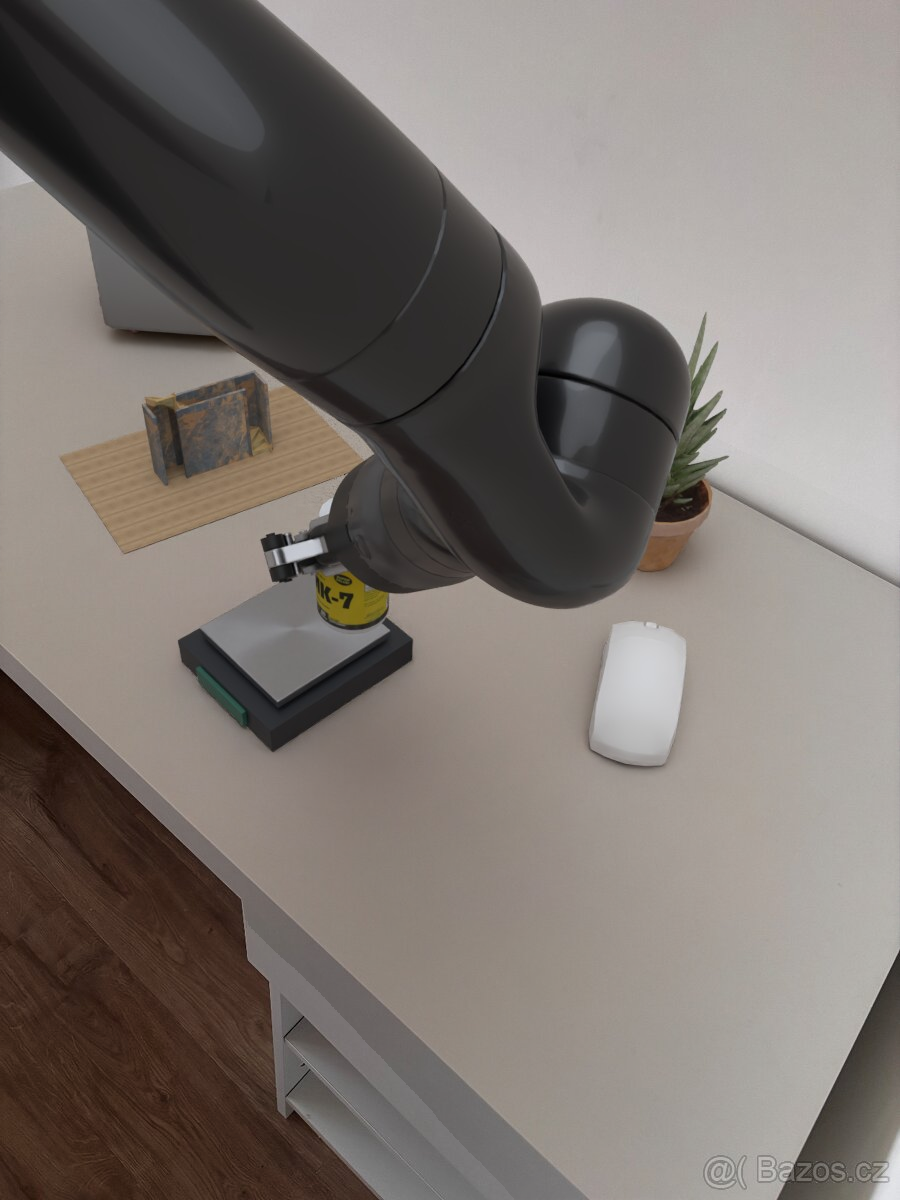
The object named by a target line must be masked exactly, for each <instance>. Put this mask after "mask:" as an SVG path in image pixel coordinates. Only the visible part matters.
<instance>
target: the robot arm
mask: <svg viewBox="0 0 900 1200" xmlns="http://www.w3.org/2000/svg"><path fill="white" fill-rule="evenodd" d="M0 152H1V153H2V154H3V155H4V156H6V157H7V158H8V159H9V160H10V161H11V162H13V164H15V165H16V166H17V167H18V168H19V169H20V170H22V171H23V173H24V174H26V175H27V176H28V177H29V178H31V179H32V181H34V182H35V183H36V184H38V186H40V188H42V189H43V190H44V191H45V192H47V193H48V195H49V196H51V197H52V198H53V199H54V200H55V201H56V202H58V204H60V205H61V206H62V207H63V208H64V209H66V210H67V211H68V212H69V213H70V214H71V215H72V216H73V217H75V219H77V220H78V221H79V222H80V223H81V224H82V225H84V226H85V228H86V227H87V228H88V229H89V230H90V231H92V232H93V233H94V234H95V235H96V236H97V237H98V238H99V239H101V240H102V241H103V242H104V243H105V244H106V245H107V246H109V247H110V248H111V249H112V250H113V251H114V252H115V253H117V254H118V255H119V256H120V257H121V258H122V259H123V260H125V261H126V262H127V263H128V264H129V265H130V266H132V267H133V268H134V269H135V270H136V271H137V272H138V273H140V274H141V275H142V276H143V277H144V278H145V279H146V280H148V281H149V282H150V283H151V284H152V285H153V286H155V287H156V288H157V289H158V290H159V291H160V292H161V293H163V294H164V295H165V296H166V297H167V298H169V299H170V300H171V301H172V302H173V303H175V304H176V305H177V306H178V307H179V308H181V309H182V310H183V311H184V312H185V313H187V314H188V315H189V316H190V317H192V318H193V319H194V320H195V321H197V322H198V323H199V324H201V325H202V326H203V327H204V328H206V329H207V330H208V331H209V332H211V333H212V334H213V335H215V336H214V337H216V338H217V339H218V340H220V341H221V342H223V343H224V344H225V345H227V346H228V347H229V348H230V349H232V350H233V351H235V352H236V353H237V354H239V355H240V356H242V357H243V358H245V359H246V360H247V361H249V362H250V363H252V364H253V365H255V366H256V367H258V368H259V369H261V370H262V371H264V372H265V373H267V374H268V375H270V377H272V378H274V379H275V380H277V381H278V382H280V383H281V384H283V386H287V387H289V388H290V389H292V390H293V391H295V392H296V393H298V394H299V395H300V396H301V397H302V398H303V399H304V400H306V401H307V402H309V403H310V404H312V405H314V406H315V407H317V408H318V409H320V410H322V411H323V412H324V413H326V414H327V415H329V416H330V417H332V418H334V419H335V420H336V421H338V422H339V423H340V424H342V425H344V426H345V427H347V428H348V429H350V430H351V431H353V432H354V433H355V434H356V435H358V436H359V437H360V438H361V439H362V440H363V442H364V443H365V445H367V446H368V448H369V449H370V450H371V452H372V453H373V454H372V455H370V456H369V457H368V458H366V459H365V460H364V461H363V462H362V463H360V464H359V465H357V466H356V467H355V468H353V469H352V470H351V471H350V472H349V473H346V474H345V476H344V478H343V479H342V480H341V482H340V483H339V485H338V487H337V488H336V490H335V493H334V495H333V497H334V498H333V497H332V498H333V500H332V504H331V508H330V512H329V514H327V515H324V516H322V517H319V516H318V517H316V518H314V519H311V520H310V521H309V524H308V525H309V528H308V530H307V529H304V530H301V531H299V532H298V534H295V535H292V532H290V531H289V532H286V533H277V534H276V532H271V533H267V534H265V537H262V538H260V539H259V541H260V545H261V547H262V550H263V554H264V558H265V561H266V565H267V569H268V571H269V575H270V579H271V582H272V583H282V582H284V583H286V582H290V581H293V580H292V578H295V577H298V575H301V574H302V575H307V574H311V576H312V575H316V574H319V572H318V571H321V572H322V573H323V575H324V576H326V577H330V576H333V575H337V574H341V573H344V572H348V571H349V572H350V573H351V574H352V575H353V576H354V577H356V578H357V579H358V580H360V581H361V582H362V583H364V584H366V585H367V586H369V587H372V588H374V589H376V590H379V591H382V592H387V593H389V594H392V595H393V594H394V595H404V594H413V593H418V592H423V591H429V590H434V589H439V588H445V587H449V586H454V585H458V584H461V583H464V582H466V581H468V580H472V579H473V578H475V577H477V578H479V579H480V580H481V581H483V582H484V583H486V584H487V585H489V586H490V587H492V588H493V589H495V590H497V591H498V592H500V593H502V594H504V595H506V596H509V597H510V598H512V599H514V600H517V601H519V602H522V603H525V604H528V605H532V606H535V607H540V608H544V609H553V610H572V609H573V610H574V609H580V608H584V607H588V606H591V605H592V606H593V605H595V604H599V603H600V602H602V601H604V600H607V599H608V598H610V597H612V596H614V595H615V594H617V592H619V591H620V590H621V589H622V588H623V587H625V586H626V585H627V584H628V582H630V580H631V579H632V577H633V576H634V575H635V573H636V572H637V571H638V569H637V568H638V566H639V564H640V562H641V560H642V558H643V556H644V553H645V551H646V548H647V545H648V541H649V538H650V535H651V532H652V528H653V525H654V522H655V517H656V514H657V511H658V508H659V505H660V502H661V498H662V495H663V492H664V489H665V486H666V482H667V479H668V476H669V473H670V470H671V467H672V463H673V460H674V457H675V454H676V448H677V446H678V444H679V441H680V438H681V434H682V431H683V427H684V424H685V421H686V417H687V413H688V410H689V405H690V397H691V378H690V371H689V367H688V364H689V363H688V361H687V359H686V356H685V353H684V351H683V349H682V346H681V345H680V344H679V343H678V341H677V340H676V338H675V337H674V336H673V334H672V333H671V332H670V330H669V329H668V328H667V327H666V326H665V325H664V324H662V322H660V321H659V320H658V319H656V318H655V317H653V315H650V314H649V313H647V312H646V311H644V310H643V309H640V308H638V307H635V306H634V305H631V304H629V303H626V302H623V301H619V300H615V299H612V298H604V297H591V296H589V297H574V298H566V299H561V300H555V301H552V302H548V303H545V304H543V302H542V299H541V295H540V292H539V290H540V289H539V286H538V284H537V282H536V280H535V277H534V275H533V273H532V272H531V270H530V268H529V266H528V264H526V262H525V260H524V259H523V258H522V256H521V255H520V253H518V251H517V250H516V249H515V248H514V246H512V244H511V243H510V242H509V241H508V239H506V238H505V236H504V235H503V234H501V232H499V231H498V230H497V229H496V227H495V226H494V225H493V224H492V223H491V222H490V221H489V220H488V219H487V218H486V217H485V216H484V215H483V213H481V212H480V211H479V210H478V209H477V207H476V206H474V204H473V203H472V202H471V201H470V200H468V199H469V198H467V197H466V196H465V195H464V194H463V193H462V192H461V190H459V189H458V187H456V185H454V184H453V182H451V180H450V179H448V177H447V176H446V175H445V174H444V173H443V172H442V171H441V170H440V169H439V168H438V167H437V166H436V165H435V164H434V162H432V161H431V159H430V157H428V156H427V155H426V154H425V153H424V152H423V151H422V150H421V149H420V148H419V147H418V145H416V143H414V142H413V141H412V140H411V139H410V138H409V137H408V136H407V135H406V134H405V133H404V132H403V131H402V129H400V128H399V127H398V126H397V125H396V124H395V123H394V122H393V120H391V119H390V118H389V117H388V116H387V115H386V114H385V113H384V112H383V111H382V110H381V109H380V108H379V107H377V105H375V104H374V103H373V102H372V100H370V99H369V98H368V97H367V96H366V94H364V93H363V92H362V91H360V89H358V88H357V87H356V86H355V85H354V84H353V82H351V81H350V80H349V79H348V78H347V77H346V76H344V75H343V74H342V73H341V72H340V71H339V70H338V69H337V68H336V67H334V65H332V64H331V63H330V62H329V61H328V60H327V59H325V57H324V56H322V55H321V54H320V53H318V51H317V50H316V49H314V48H313V47H312V46H311V45H309V43H308V42H307V41H305V40H304V39H303V38H302V37H301V36H299V35H298V34H297V33H296V32H295V31H294V30H293V29H291V28H290V27H289V26H288V25H287V24H286V23H285V22H284V21H282V19H280V18H279V17H278V16H276V14H274V13H273V12H272V11H270V9H268V7H266V6H265V5H264V4H263V3H261V2H260V1H259V0H0Z"/></svg>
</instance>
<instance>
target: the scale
mask: <svg viewBox="0 0 900 1200" xmlns="http://www.w3.org/2000/svg"><path fill="white" fill-rule="evenodd" d="M382 624H383V625H384V626H386V627H387V628H388V629H389V630H390V638H388V639H386V640H385V641H383V642H382V643H380V644H379V645H377V646H375V647H374V648H372V649H371V650H369V651H368V652H366V653H364V654H363V655H361V656H360V657H358V658H356V659H355V660H353V661H352V662H350V663H349V664H347V665H345V666H344V667H342V668H341V669H339V670H338V671H336V672H334V673H333V674H331V675H330V676H328V677H327V678H325V679H323V680H322V681H320V682H319V683H317V684H316V685H314V686H312V687H311V688H309V689H308V690H306V691H304V692H303V693H301V694H300V695H298V696H297V697H295V698H293V699H292V700H290V701H289V702H287V703H286V704H284V705H282V706H281V707H279V708H278V707H276V706H275V705H274V704H273V703H272V702H271V701H270V700H269V699H268V698H267V697H266V696H265V695H264V694H263V693H262V692H261V691H260V690H259V689H258V688H257V687H256V686H255V685H253V684H252V683H251V682H250V681H249V680H248V679H247V678H246V677H245V676H244V675H243V674H242V673H241V672H240V671H239V670H238V669H237V668H236V667H235V666H234V665H233V664H232V663H230V662H229V661H228V660H227V659H226V658H225V657H224V656H223V655H222V654H221V653H220V652H219V651H218V650H217V649H216V648H215V647H214V646H213V645H212V644H211V643H210V642H209V641H207V640H206V639H205V638H204V637H203V636H202V635H201V633H200V627H199V628H197V629H195V630H193V631H192V632H190V633H188V634H186V635H185V636H183V637H181V638H179V639H178V640H177V644H178V649H179V653H180V654H179V655H180V661H181V663H183V665H184V666H186V667H187V668H188V669H189V671H191V672H192V673H193V675H195V676H196V677H197V682H198V683H199V684H200V685H201V686H202V687H203V688H204V689H205V690H206V691H207V692H208V693H209V694H210V696H212V697H213V698H214V699H215V700H216V701H217V702H218V703H219V704H220V705H221V706H222V708H224V709H225V710H226V711H227V712H228V713H229V714H230V715H231V716H232V717H233V718H234V719H235V720H236V722H238V723H239V724H240V725H241V726H242V727H243V728H245V727H247V728H248V729H249V730H250V731H251V732H252V733H253V734H254V735H256V737H257V738H258V739H259V740H260V741H261V742H262V743H263V744H264V745H265V746H266V747H267V748H268V749H269V750H270V751H271V752H275V751H276V750H278V749H279V748H281V747H282V746H284V745H285V744H287V743H288V742H290V741H292V740H293V739H295V738H296V737H298V736H299V735H300V734H302V733H304V732H305V731H307V730H309V729H310V728H311V727H313V726H314V725H316V724H317V723H318V722H321V721H322V720H323V719H325V718H326V717H328V716H330V715H331V714H332V713H334V712H335V711H337V710H339V709H340V708H342V707H343V706H345V705H346V704H348V703H349V702H351V701H352V700H354V699H355V698H357V697H358V696H360V695H361V694H363V693H364V692H366V691H367V690H369V689H370V688H372V687H373V686H375V685H377V684H378V683H380V682H381V681H382V680H384V679H386V678H387V677H389V676H390V675H392V674H393V673H395V672H396V671H397V670H399V669H401V668H403V667H404V666H405V665H407V664H408V663H410V662H412V661H413V652H414V650H413V649H414V638H413V637H411V636H410V635H409V634H407V633H406V632H405V631H404V630H403V629H402V628H400V627H399V626H398V625H397V624H395V622H393V621H392V620H390V619H389V618H388V616H387V617H386V618H385V620H384V621H383V622H382Z"/></svg>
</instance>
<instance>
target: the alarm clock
mask: <svg viewBox="0 0 900 1200" xmlns="http://www.w3.org/2000/svg"><path fill="white" fill-rule="evenodd" d="M85 230H86V235H87V241H88V244H89V245H88V246H89V249H90V255H91V259H92V260H91V261H92V265H93V270H94V275H95V279H96V280H95V281H96V286H97V291H98V302H99V305H100V307H101V311H102V315H103V322H104V324H105V326H108V327H109V328H111V329H115V330H128V331H131V332H132V333H133V334H137V333H139V332H141V331H142V332H157V333H169V334H181V335H182V334H183V335H197V336H207V337H209V336H211V337H216V336H215V335H213V334H212V333H211V332H209V331H208V330H207V329H206V328H204V327H203V326H202V325H201V324H199V323H198V322H197V321H195V320H194V319H193V318H192V317H190V316H189V315H188V314H187V313H185V312H184V311H183V310H182V309H181V308H179V307H178V306H177V305H176V304H175V303H173V302H172V301H171V300H170V299H169V298H167V297H166V296H165V295H164V294H163V293H161V292H160V291H159V290H158V289H157V288H156V287H155V286H153V285H152V284H151V283H150V282H149V281H148V280H146V279H145V278H144V277H143V276H142V275H141V274H140V273H138V272H137V271H136V270H135V269H134V268H133V267H132V266H130V265H129V264H128V263H127V262H126V261H125V260H123V259H122V258H121V257H120V256H119V255H118V254H117V253H115V252H114V251H113V250H112V249H111V248H110V247H109V246H107V245H106V244H105V243H104V242H103V241H102V240H101V239H99V238H98V237H97V236H96V235H95V234H94V233H93V232H92V231H90V230H89V229H88V228H87V227H86V226H85Z"/></svg>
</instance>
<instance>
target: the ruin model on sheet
mask: <svg viewBox="0 0 900 1200" xmlns="http://www.w3.org/2000/svg"><path fill="white" fill-rule="evenodd" d="M144 401H145V402H144V403H141V408H142V413H143V419H144V424H145V429H143V430H142V429H141V430H139V431H135V432H133V433H129V434H126V435H123V436H119V437H117V438H113V439H109V440H107V441H103V442H101V443H97V444H94V445H91V446H88V447H85V448H81V449H78V450H75V451H71V452H67V453H65V454H62V455H59V456H58V457H59V459H60V461H62V463H63V465H64V466H65V468H66V469H67V470H68V472H69V474H70V475H71V476H72V478H73V480H74V481H75V483H76V484H77V485H78V488H79V489H80V490H81V492H82V493H83V494H84V496H85V498H86V499H87V500H88V502H89V504H90V505H91V506H92V508H93V510H94V511H95V513H96V514H97V515H98V517H99V518H100V520H101V522H102V523H103V524H104V526H105V527H106V529H107V530H108V532H109V533H110V535H111V536H112V538H113V539H114V542H115V543H116V544H117V545H118V547H119V548H120V550H121V552H122V553H123V555H125V554H127V553H131V552H132V551H135V550H138V549H141V548H144V547H146V546H149V545H152V544H155V543H157V542H160V541H163V540H166V539H169V538H172V537H174V536H178V535H180V534H182V533H185V532H188V531H191V530H193V529H196V528H199V527H202V526H205V525H208V524H210V523H213V522H216V521H219V520H221V519H224V518H227V517H230V516H232V515H235V514H238V513H241V512H243V511H247V510H249V509H252V508H254V507H257V506H260V505H264V504H266V503H268V502H271V501H274V500H277V499H280V498H282V497H285V496H288V495H291V494H294V493H296V492H299V491H302V490H304V489H308V488H310V487H313V486H315V485H318V484H321V483H324V482H327V481H329V480H330V481H331V480H332V479H335V478H337V477H340V476H343V475H347V474H348V473H349V472H350V471H351V470H352V469H353V468H355V467H356V466H357V465H359V464H360V463H362V462H363V461H365V460H364V459H363V458H362V456H360V455H359V454H358V453H357V451H355V450H354V449H353V447H352V446H350V444H348V442H346V441H345V439H344V438H343V437H342V436H341V435H340V434H339V433H338V432H337V431H336V430H335V429H334V428H333V427H332V426H331V425H330V424H329V423H328V422H327V421H326V420H325V419H324V418H323V416H321V415H320V413H318V412H317V411H316V410H315V409H314V408H313V407H312V406H311V405H310V403H308V401H307V400H306V399H305V398H304V397H302V396H301V395H299V394H298V393H296V392H295V391H293V390H292V389H290V388H289V387H287V386H286V385H283V386H280V387H277V388H274V389H271V390H269V384H268V382H267V381H266V380H265V379H264V378H263V377H262V376H261V375H260V373H258V371H257V370H250V371H247V372H245V373H241V374H238V375H234V376H231V377H227V378H225V379H221V380H217V381H215V382H211V383H208V384H205V385H201V386H197V387H195V388H191V389H188V390H185V391H180V392H178V393H176V392H171V395H168V396H164V397H159V396H158V397H157V396H144Z"/></svg>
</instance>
